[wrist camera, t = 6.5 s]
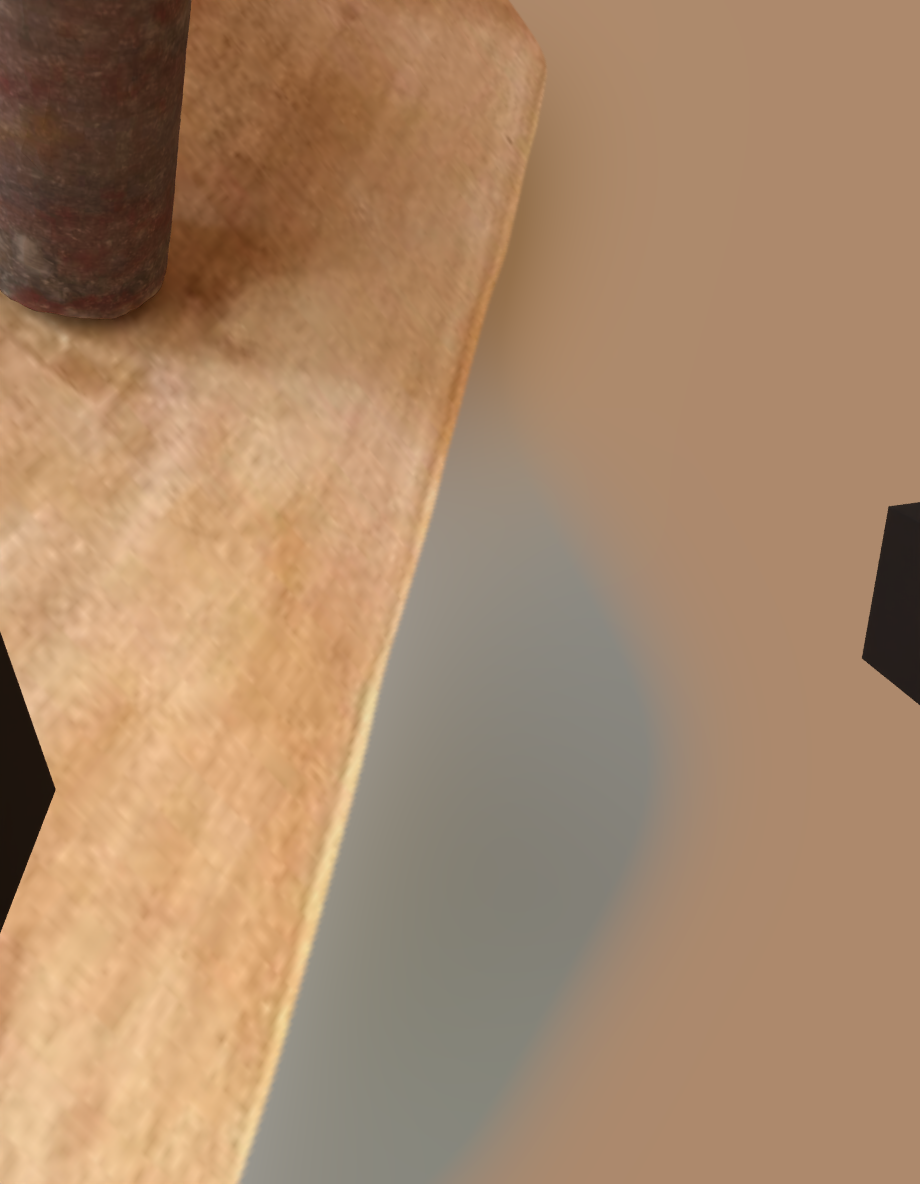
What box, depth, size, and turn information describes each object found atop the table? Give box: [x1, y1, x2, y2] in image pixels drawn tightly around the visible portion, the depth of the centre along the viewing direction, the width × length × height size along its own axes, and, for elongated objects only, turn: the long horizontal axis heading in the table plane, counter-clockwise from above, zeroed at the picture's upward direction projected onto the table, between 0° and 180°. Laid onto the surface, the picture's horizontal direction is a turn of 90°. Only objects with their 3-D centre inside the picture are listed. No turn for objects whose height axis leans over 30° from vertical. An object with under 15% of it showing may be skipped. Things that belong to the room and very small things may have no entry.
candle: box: [0, 0, 191, 319], centre depth 27 cm, size 8×7×20 cm
